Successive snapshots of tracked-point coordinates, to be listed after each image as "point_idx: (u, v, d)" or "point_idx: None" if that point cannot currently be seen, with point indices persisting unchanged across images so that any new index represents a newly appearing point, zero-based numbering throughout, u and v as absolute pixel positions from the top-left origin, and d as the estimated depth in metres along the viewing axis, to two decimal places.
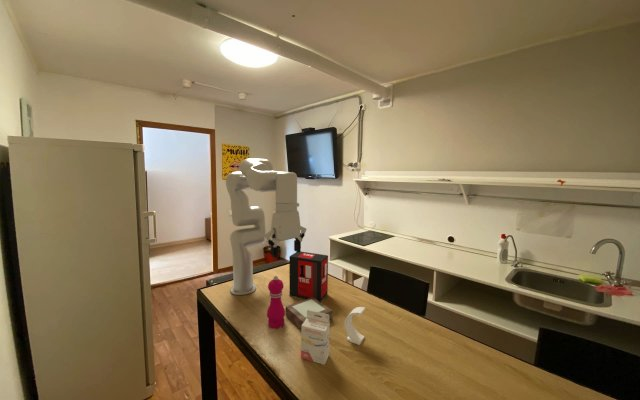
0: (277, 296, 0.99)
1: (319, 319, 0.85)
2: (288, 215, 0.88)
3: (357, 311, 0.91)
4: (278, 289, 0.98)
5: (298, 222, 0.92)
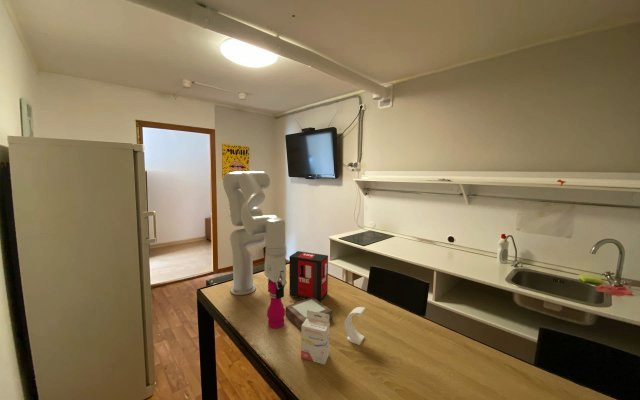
0: None
1: (319, 319, 0.85)
2: None
3: (357, 311, 0.91)
4: None
5: None
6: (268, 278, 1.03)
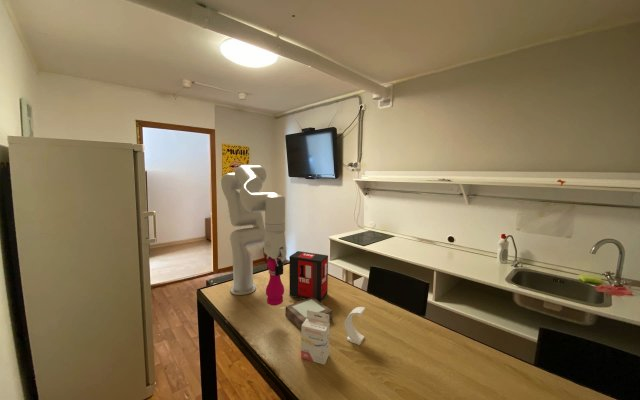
0: None
1: (319, 319, 0.85)
2: None
3: (357, 311, 0.91)
4: None
5: None
6: (267, 256, 1.02)
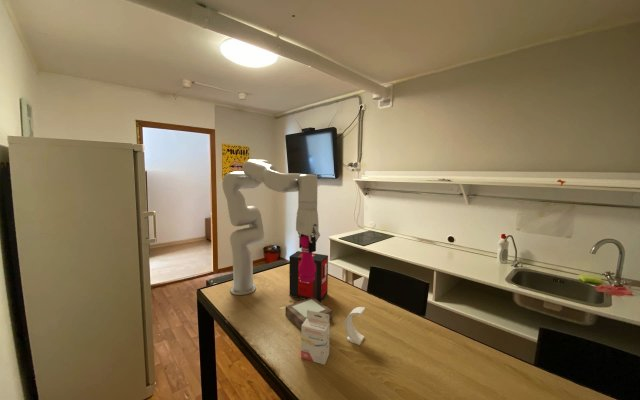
0: None
1: (319, 319, 0.85)
2: None
3: (357, 311, 0.91)
4: None
5: None
6: (299, 234, 1.05)
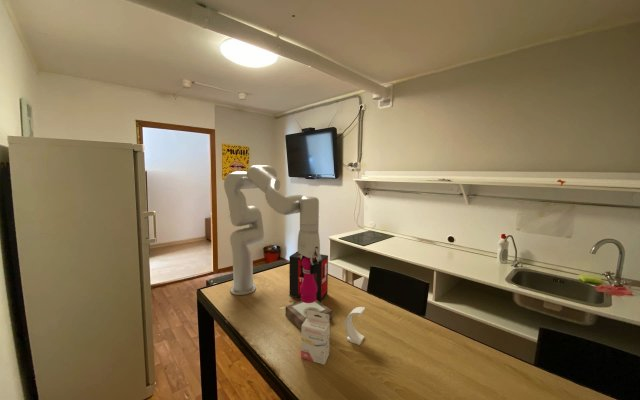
0: None
1: (319, 319, 0.85)
2: None
3: (357, 311, 0.91)
4: None
5: None
6: (301, 255, 1.06)
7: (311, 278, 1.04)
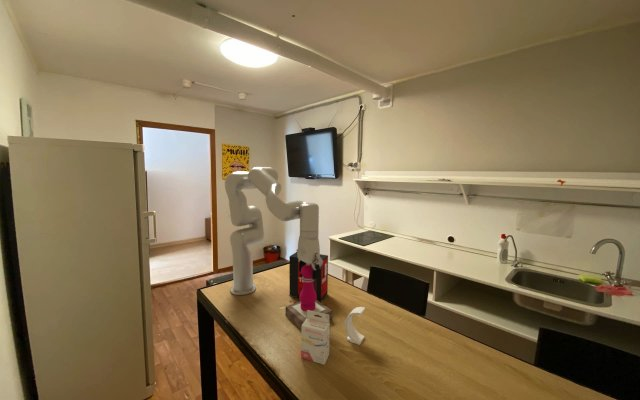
0: (310, 280, 1.03)
1: (319, 319, 0.85)
2: None
3: (357, 311, 0.91)
4: (311, 274, 1.03)
5: None
6: (299, 259, 1.08)
7: (310, 286, 1.04)
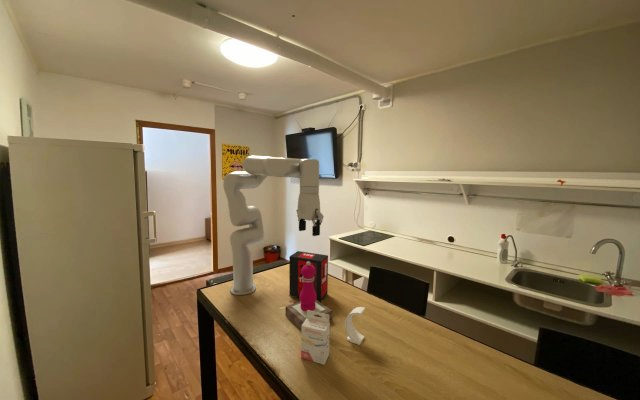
0: (310, 280, 1.03)
1: (319, 319, 0.85)
2: None
3: (357, 311, 0.91)
4: (311, 274, 1.03)
5: None
6: (299, 218, 1.06)
7: (310, 286, 1.04)
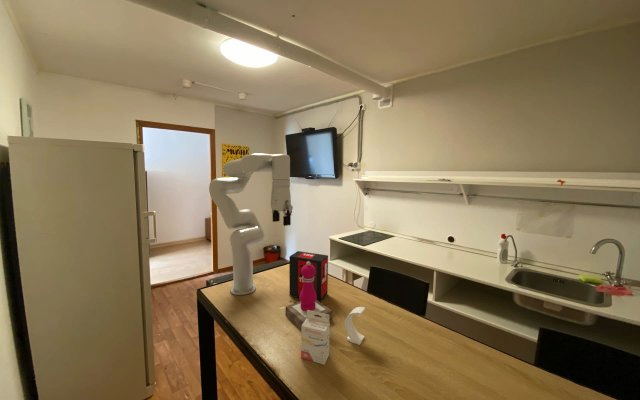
0: (310, 280, 1.03)
1: (319, 319, 0.85)
2: None
3: (357, 311, 0.91)
4: (311, 274, 1.03)
5: None
6: (273, 209, 1.13)
7: (310, 286, 1.04)
